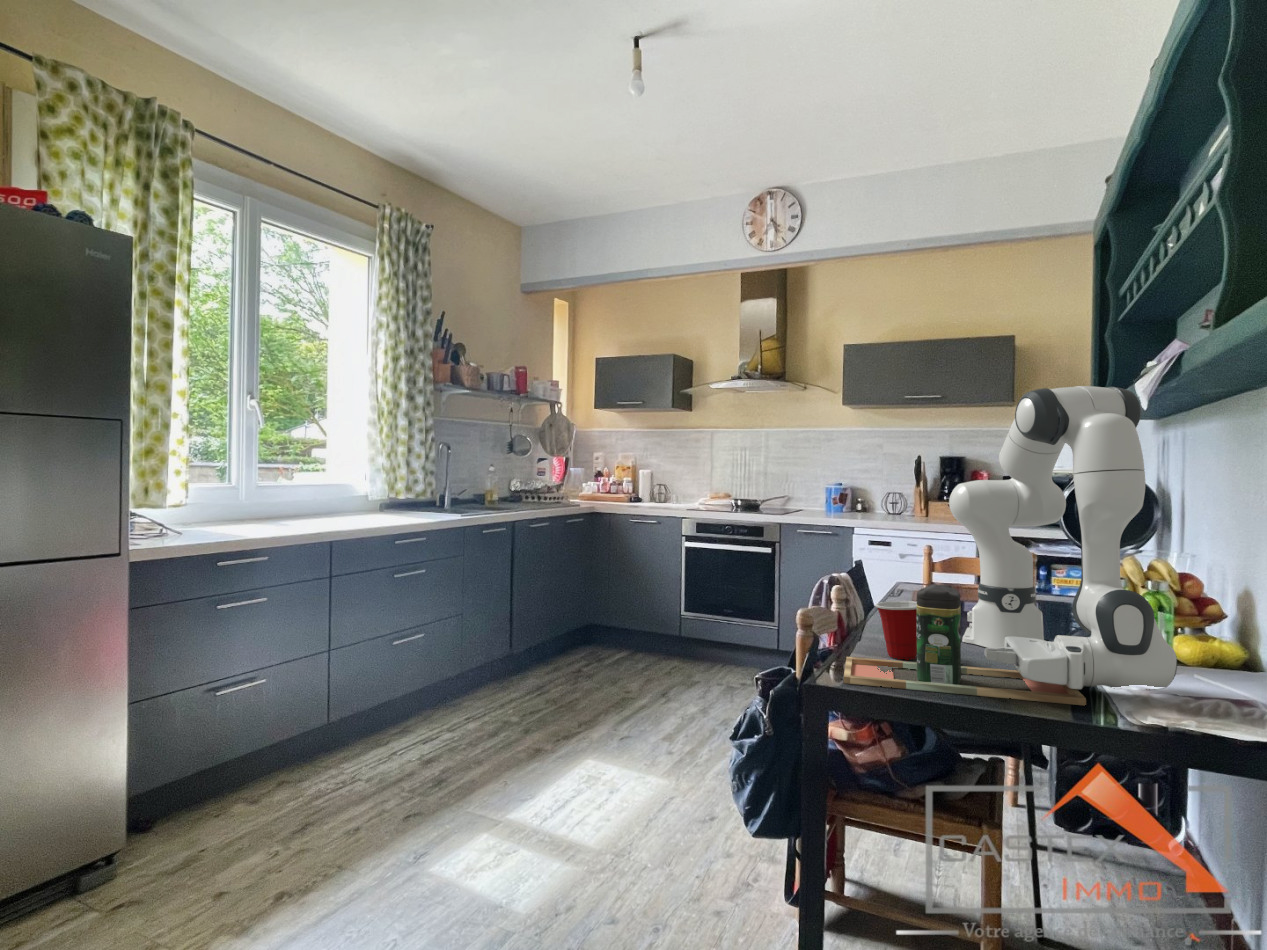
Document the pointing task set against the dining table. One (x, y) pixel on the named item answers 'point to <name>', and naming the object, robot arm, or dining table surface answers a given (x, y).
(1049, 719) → the dining table surface
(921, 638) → the coffee jar
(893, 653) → the plastic cup
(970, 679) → the dining table surface
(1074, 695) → the channel
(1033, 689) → the mats
